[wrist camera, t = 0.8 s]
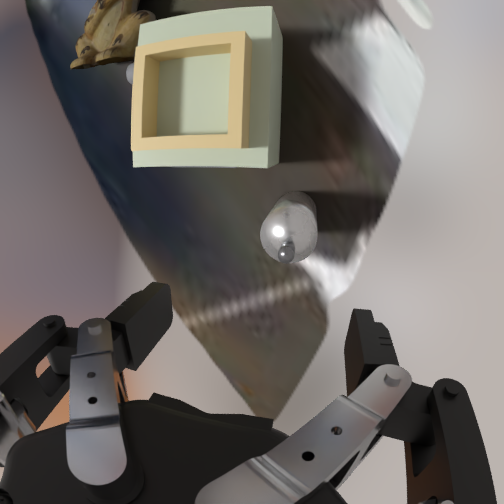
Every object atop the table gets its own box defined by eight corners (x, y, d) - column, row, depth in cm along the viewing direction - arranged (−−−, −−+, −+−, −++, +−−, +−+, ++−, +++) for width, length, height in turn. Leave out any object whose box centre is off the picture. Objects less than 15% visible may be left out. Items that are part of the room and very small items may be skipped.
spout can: (275, 189, 31) (257, 210, 21) (318, 192, 30) (320, 215, 20) (273, 229, 32) (255, 267, 23) (314, 233, 32) (314, 273, 22)
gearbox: (153, 49, 28) (99, 25, 18) (282, 37, 25) (267, -8, 15) (149, 163, 32) (91, 174, 23) (278, 165, 30) (261, 174, 20)
